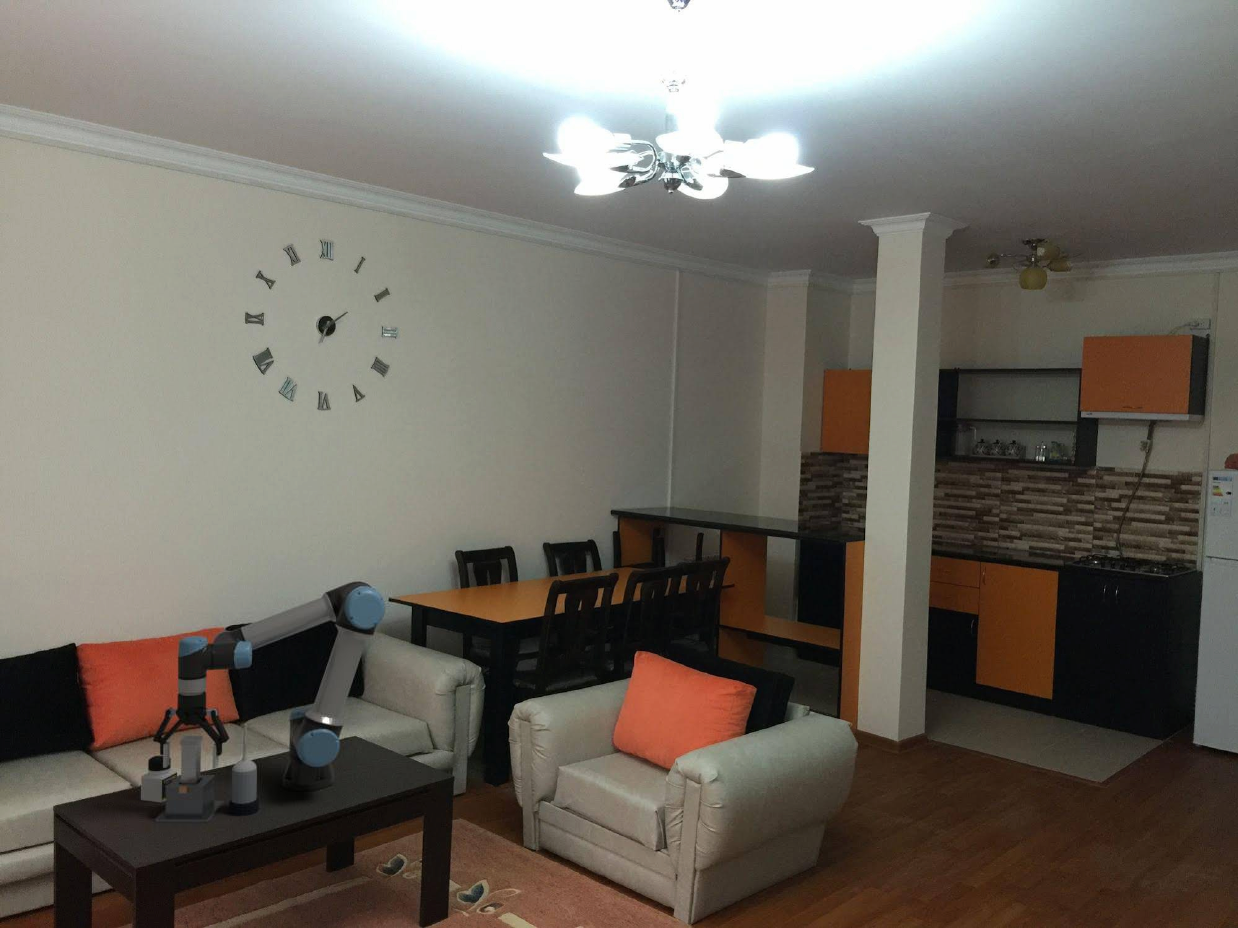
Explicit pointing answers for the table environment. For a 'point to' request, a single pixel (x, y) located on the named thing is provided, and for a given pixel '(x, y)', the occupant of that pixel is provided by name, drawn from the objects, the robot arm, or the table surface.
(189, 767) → the column
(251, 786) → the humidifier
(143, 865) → the table surface
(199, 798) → the stand housing
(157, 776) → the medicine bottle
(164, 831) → the table surface
